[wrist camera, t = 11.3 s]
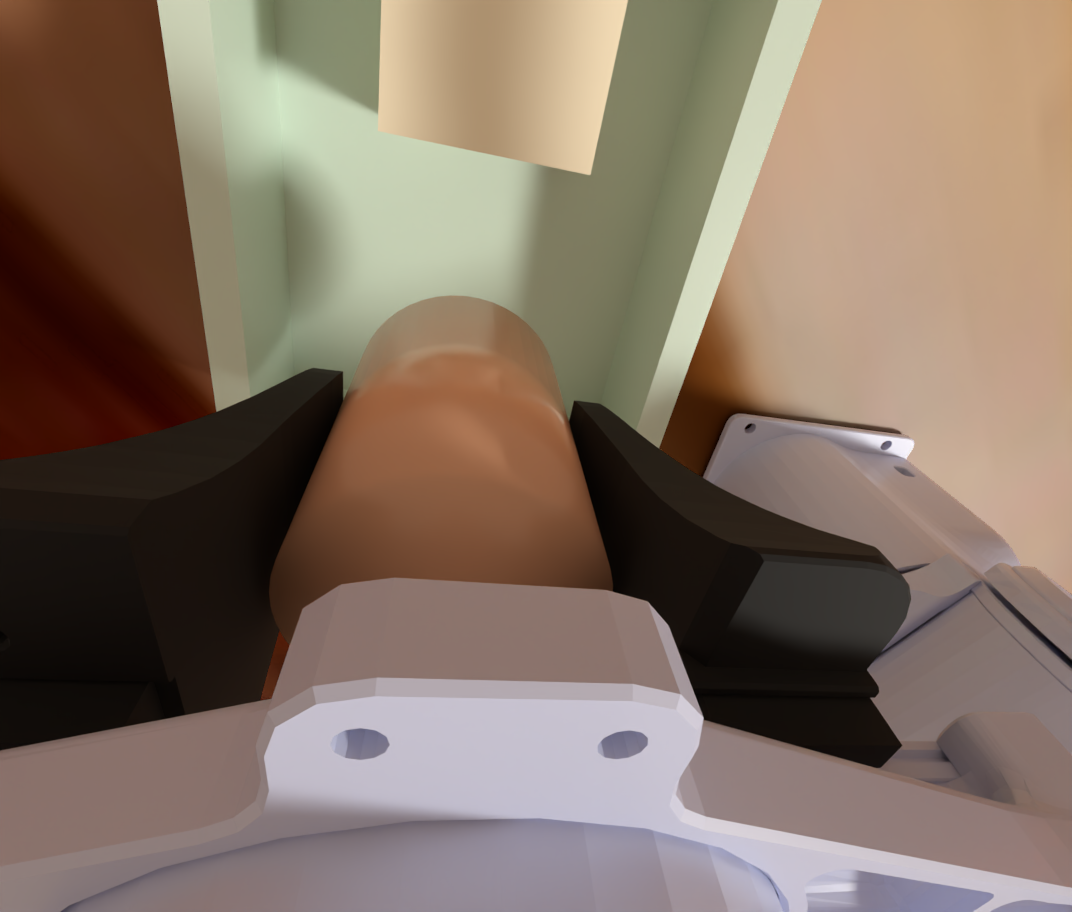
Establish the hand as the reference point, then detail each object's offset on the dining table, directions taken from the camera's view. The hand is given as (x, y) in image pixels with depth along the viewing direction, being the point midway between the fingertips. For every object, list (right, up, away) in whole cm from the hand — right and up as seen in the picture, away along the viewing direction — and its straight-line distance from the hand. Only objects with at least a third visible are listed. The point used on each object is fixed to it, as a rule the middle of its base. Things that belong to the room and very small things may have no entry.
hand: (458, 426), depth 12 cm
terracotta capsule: (0, +1, +2) cm, 2 cm away
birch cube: (+1, +11, +3) cm, 12 cm away
